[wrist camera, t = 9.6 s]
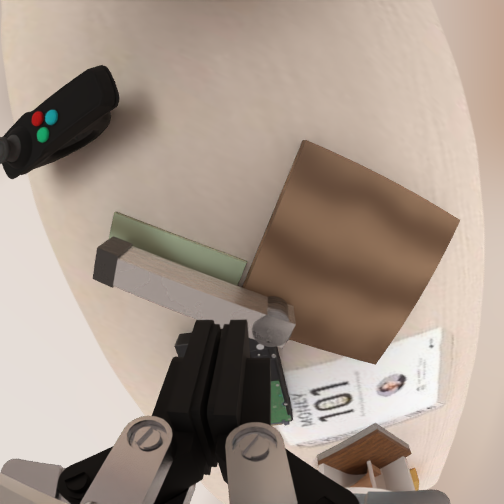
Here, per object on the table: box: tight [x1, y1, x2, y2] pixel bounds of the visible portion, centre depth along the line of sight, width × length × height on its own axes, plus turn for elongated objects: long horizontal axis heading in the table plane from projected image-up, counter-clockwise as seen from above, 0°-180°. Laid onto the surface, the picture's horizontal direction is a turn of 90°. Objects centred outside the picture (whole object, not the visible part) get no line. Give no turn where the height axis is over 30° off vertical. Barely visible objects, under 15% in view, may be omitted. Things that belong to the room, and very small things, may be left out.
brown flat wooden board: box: [109, 140, 460, 365], centre depth 27 cm, size 17×30×2 cm, turn 69°
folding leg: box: [93, 236, 296, 348], centre depth 26 cm, size 17×3×3 cm, turn 69°
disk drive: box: [175, 329, 293, 426], centre depth 34 cm, size 10×3×15 cm
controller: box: [0, 65, 119, 179], centre depth 21 cm, size 4×12×10 cm, turn 112°
